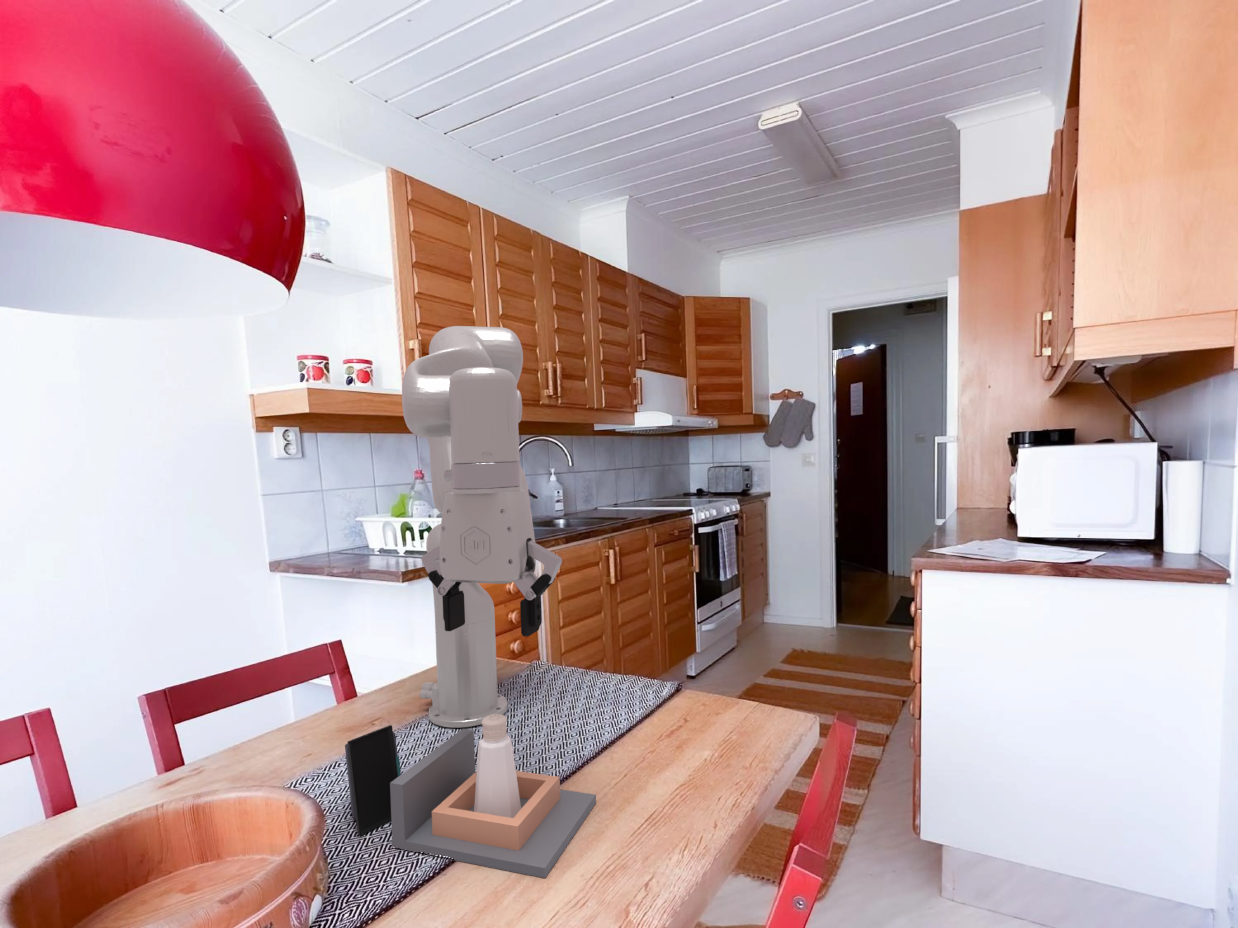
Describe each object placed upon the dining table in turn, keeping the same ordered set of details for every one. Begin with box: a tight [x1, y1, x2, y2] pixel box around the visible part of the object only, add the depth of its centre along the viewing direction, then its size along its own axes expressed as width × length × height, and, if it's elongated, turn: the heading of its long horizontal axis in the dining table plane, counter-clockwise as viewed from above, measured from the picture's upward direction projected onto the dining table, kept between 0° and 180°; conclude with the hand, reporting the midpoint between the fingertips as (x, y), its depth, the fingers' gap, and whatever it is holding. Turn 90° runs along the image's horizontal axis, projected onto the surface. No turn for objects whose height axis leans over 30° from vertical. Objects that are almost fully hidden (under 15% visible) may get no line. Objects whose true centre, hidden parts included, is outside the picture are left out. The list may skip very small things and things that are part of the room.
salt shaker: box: [474, 714, 521, 818], centre depth 72 cm, size 5×5×11 cm
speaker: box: [344, 724, 402, 837], centre depth 75 cm, size 8×6×10 cm
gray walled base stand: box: [390, 728, 597, 879], centre depth 71 cm, size 18×14×7 cm
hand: (492, 630), depth 71 cm, fingers open, 9 cm apart
